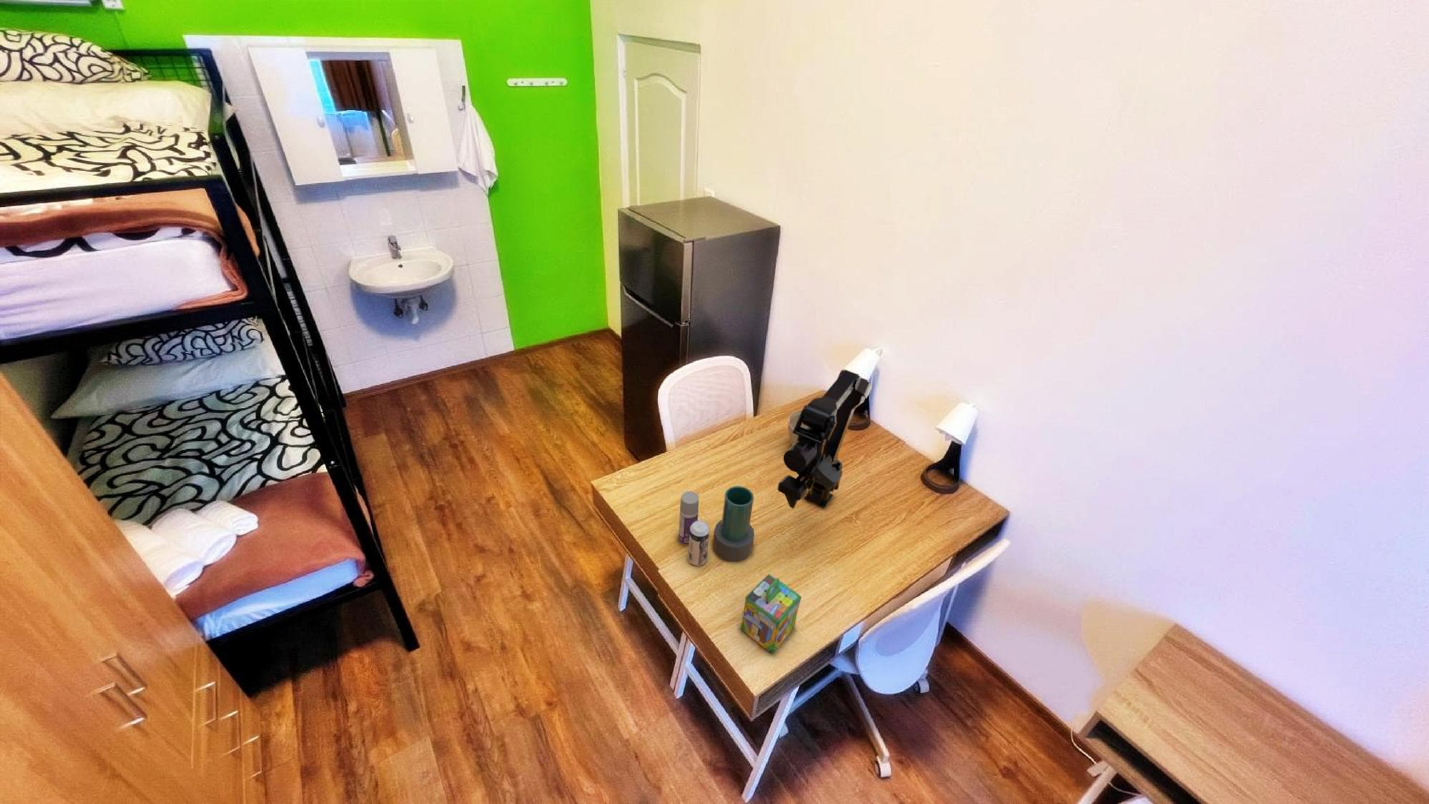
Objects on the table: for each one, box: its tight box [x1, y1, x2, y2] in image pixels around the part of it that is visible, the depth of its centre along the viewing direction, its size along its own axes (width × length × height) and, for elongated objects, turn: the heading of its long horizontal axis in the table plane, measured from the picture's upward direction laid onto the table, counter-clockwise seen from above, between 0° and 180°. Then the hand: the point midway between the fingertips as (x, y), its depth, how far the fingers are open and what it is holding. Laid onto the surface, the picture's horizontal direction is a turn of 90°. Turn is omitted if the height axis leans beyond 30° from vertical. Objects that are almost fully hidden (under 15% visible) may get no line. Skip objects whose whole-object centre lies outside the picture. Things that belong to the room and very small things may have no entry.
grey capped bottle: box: [687, 519, 711, 567], centre depth 138 cm, size 5×5×12 cm
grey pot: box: [712, 519, 755, 563], centre depth 144 cm, size 10×10×6 cm
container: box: [677, 490, 700, 547], centre depth 142 cm, size 5×5×15 cm
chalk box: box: [740, 573, 802, 655], centre depth 122 cm, size 9×9×15 cm
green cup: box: [721, 485, 755, 542], centre depth 139 cm, size 7×7×12 cm
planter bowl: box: [787, 409, 808, 446], centre depth 179 cm, size 16×16×11 cm
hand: (800, 497), depth 144 cm, fingers open, 9 cm apart
